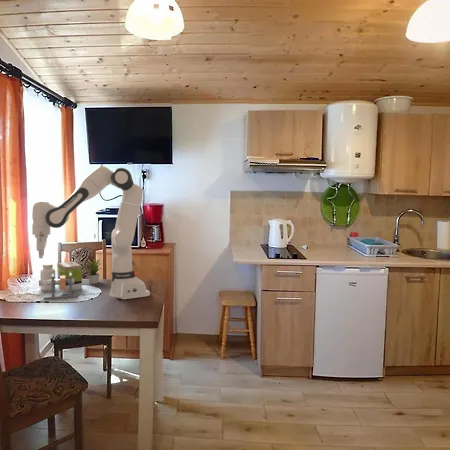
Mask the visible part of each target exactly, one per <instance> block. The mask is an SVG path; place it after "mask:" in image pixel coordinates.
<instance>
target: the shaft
mask: <svg viewBox="0 0 450 450" xmlns="http://www.w3.org/2000/svg"><path fill="white" fill-rule="evenodd" d="M65 284H69V279H65ZM72 284H74V278H72ZM46 285H52V282H51V280H41V279H40V280H38V286H39V287H41V286H46ZM54 285H55V286H58V285H60V279H58V278H55V279H54Z"/></svg>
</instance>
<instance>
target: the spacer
mask: <svg viewBox="0 0 450 450" xmlns="http://www.w3.org/2000/svg"><path fill="white" fill-rule="evenodd" d="M65 288H66V286H65V276H60V286H59V290H60V291H59V292H63V291H64V290H65Z"/></svg>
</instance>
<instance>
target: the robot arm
mask: <svg viewBox="0 0 450 450" xmlns="http://www.w3.org/2000/svg"><path fill="white" fill-rule="evenodd" d="M109 185H111V186H113V187H116V188H117V189H119V190H122V196H121V200H120V204H119V207H118V212H117V215H116V221H115V227H114V229H113V230H112V231H111V258H112V259H111V265H112V266H111V267H112V270H111V273H110V276H111V277H110V280H111V287H110V292H109V297H112V298H116V299H119V300H120V299H121V300H127V299H128V300H129V299H137V298H144V297H150V296H151V292H150V291H149V289H147V287H146V284H145V282H143V280H141V279H140V278H138V277H137V276H138V275H139V274H138V271H135V270H133V251H132V250H133V249H132V244H133V242H134V238H135V234H136V233H135V232H136V228H137V223H138V222H137V221H138V219H139V218H138V217H139V215H140V214H139V213H140V210H141V206H142V201H143V193H144V191H143V188H142V187H141V186H140V185H138V184H135V183H134V180H133V176H132V174H131V171H129V170H128V169H127V168H124V167H119V168H118V167H117V168H116V169H115V170H111V169H109V168H108V167H106V166H102V165H101V166H98V167H97V168H95V169H93V170H92V171H91V172H89V174H87V175H86V176H85V177H84V178H83V179H82V180H81V182H80V183H79V184H78V186H77V187H76V188H75V190H74V191H73V193H72V194H71V195H70V196H69V197H68V198H67V199H66V200H65V201H64V202H62V203H61V204H60V205H59V206H57V205H54V204H52V203H51V202H49V201H48V200H44V201H38V202H35V203H34V204H33V206H32V211H31V213H32V216H31V218H32V221H33V222H32V225H31V226H32V227H31V229H32V231H31V234H32V235H33V236H34V238H36V251H38V258H39V259H43V258H44V255H45V249H46V246H47V243H48V242H47V241H48V240H47V239H48V238H49V235H51V228H54V229H57V228H58V229H59V228H61V227H63V226H64V225H65V224H66V223H68V221H69V218H70V214H71V213H72V212H74V211H75V209H77V208H78V207H79V206H80V205H81V204H82V203H85V202H86V201H88V200H91V199H93V198H94V197H96V196H97V195H98V194H99V193H101V192H102V191H103V190H104V189H105V188H107V187H108V186H109Z"/></svg>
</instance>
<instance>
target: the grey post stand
mask: <svg viewBox="0 0 450 450" xmlns="http://www.w3.org/2000/svg"><path fill="white" fill-rule="evenodd" d="M51 282H52V290H51V292H45V293H44V295H43V300H54V299H71V298H78V290H72V273H69V288H70V291H59V292H55V289H56V285H54V274H52V276H51Z"/></svg>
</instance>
